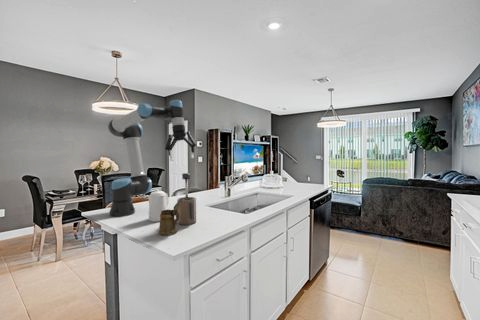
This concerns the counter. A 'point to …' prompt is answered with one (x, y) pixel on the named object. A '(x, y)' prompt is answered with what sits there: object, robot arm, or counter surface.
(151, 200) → the coffeepot
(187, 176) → the plunger
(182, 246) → the counter surface
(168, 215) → the wooden mug
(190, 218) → the press carafe
